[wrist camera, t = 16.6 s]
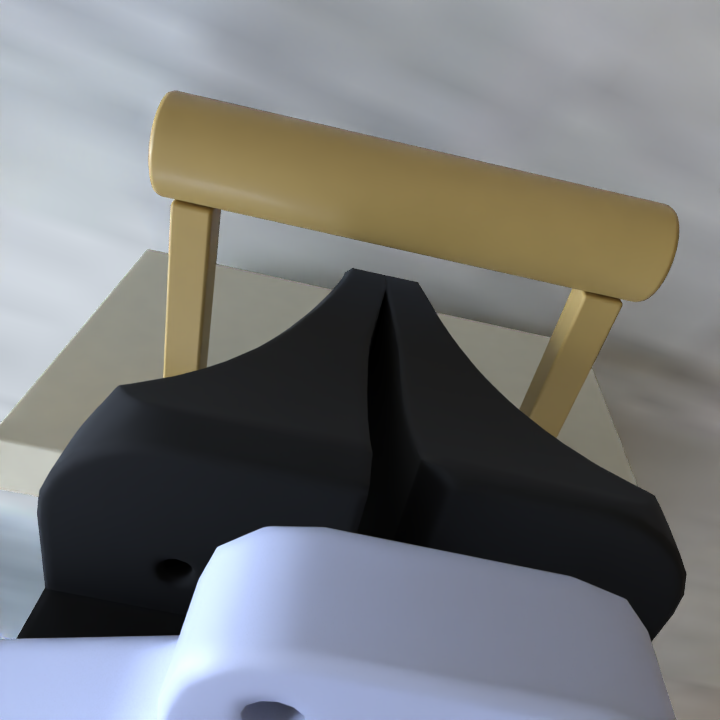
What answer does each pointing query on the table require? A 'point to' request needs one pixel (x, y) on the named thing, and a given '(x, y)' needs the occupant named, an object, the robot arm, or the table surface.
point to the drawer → (294, 299)
